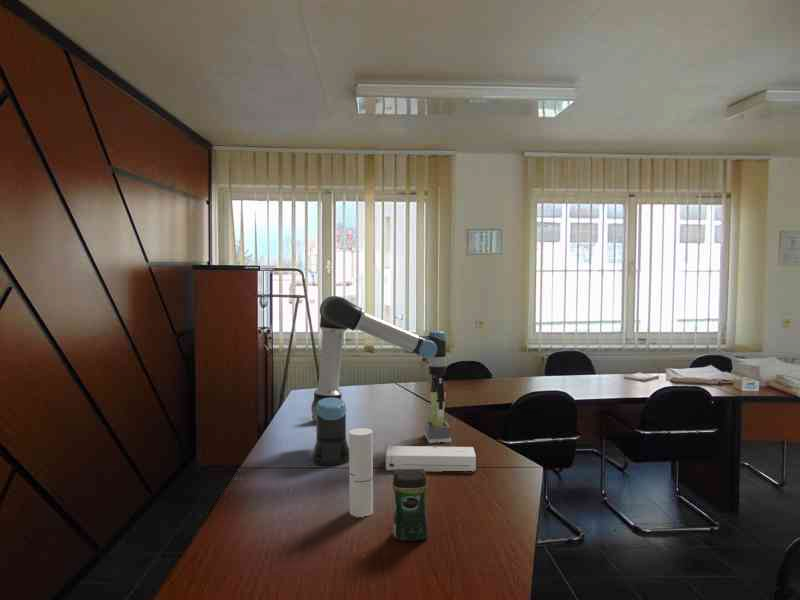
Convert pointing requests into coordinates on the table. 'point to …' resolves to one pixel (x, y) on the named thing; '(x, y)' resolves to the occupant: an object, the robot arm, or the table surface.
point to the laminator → (431, 458)
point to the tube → (435, 410)
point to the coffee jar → (410, 505)
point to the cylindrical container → (361, 472)
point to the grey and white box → (437, 432)
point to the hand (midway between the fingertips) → (437, 412)
